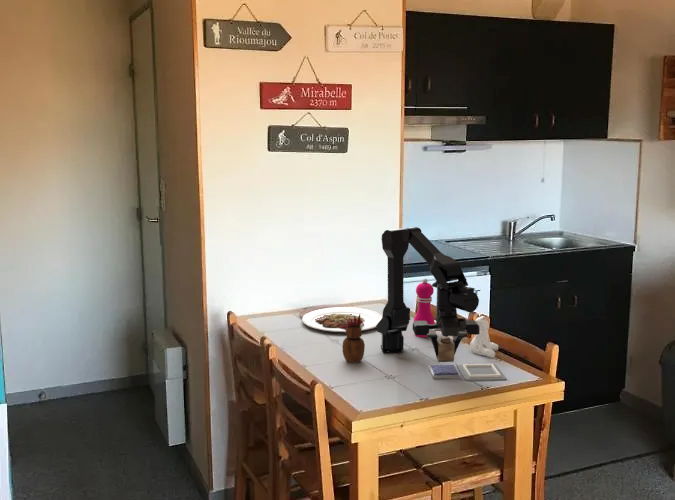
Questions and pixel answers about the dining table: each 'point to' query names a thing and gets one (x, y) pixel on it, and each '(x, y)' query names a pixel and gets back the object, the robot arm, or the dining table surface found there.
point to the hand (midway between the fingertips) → (444, 355)
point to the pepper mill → (424, 303)
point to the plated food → (341, 318)
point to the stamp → (445, 349)
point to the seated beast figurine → (483, 340)
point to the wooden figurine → (353, 342)
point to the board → (481, 372)
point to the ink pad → (444, 371)
